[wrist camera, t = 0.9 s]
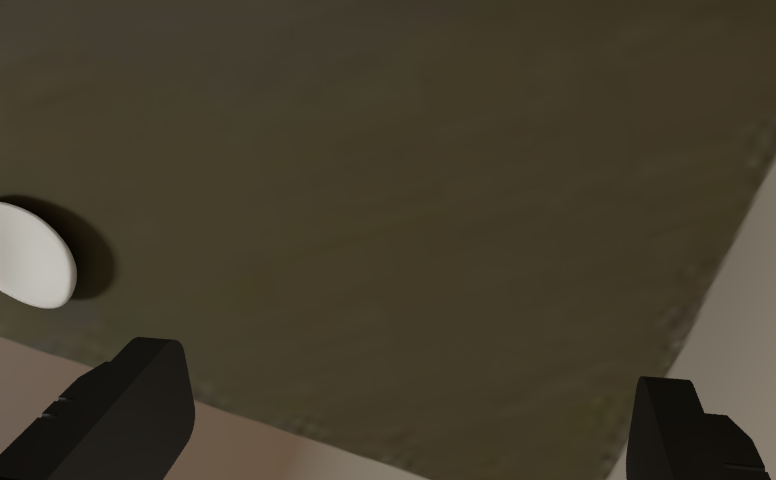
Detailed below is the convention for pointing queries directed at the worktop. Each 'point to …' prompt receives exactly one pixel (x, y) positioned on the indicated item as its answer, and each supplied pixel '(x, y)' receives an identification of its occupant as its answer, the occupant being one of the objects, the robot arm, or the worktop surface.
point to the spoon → (34, 260)
